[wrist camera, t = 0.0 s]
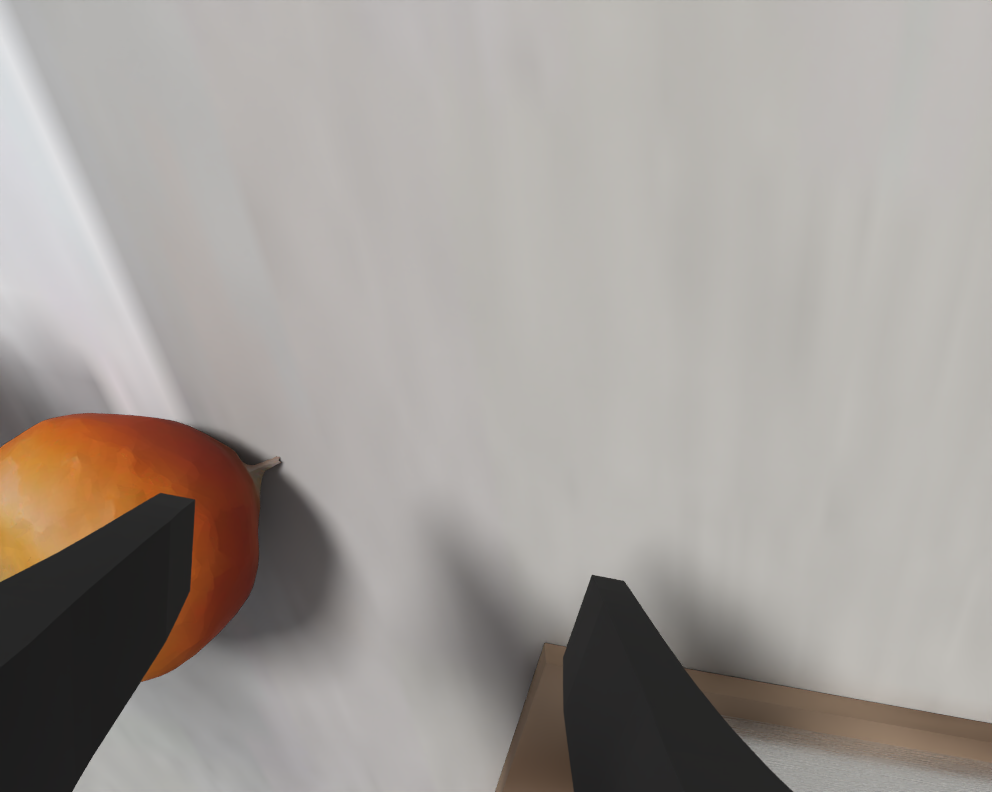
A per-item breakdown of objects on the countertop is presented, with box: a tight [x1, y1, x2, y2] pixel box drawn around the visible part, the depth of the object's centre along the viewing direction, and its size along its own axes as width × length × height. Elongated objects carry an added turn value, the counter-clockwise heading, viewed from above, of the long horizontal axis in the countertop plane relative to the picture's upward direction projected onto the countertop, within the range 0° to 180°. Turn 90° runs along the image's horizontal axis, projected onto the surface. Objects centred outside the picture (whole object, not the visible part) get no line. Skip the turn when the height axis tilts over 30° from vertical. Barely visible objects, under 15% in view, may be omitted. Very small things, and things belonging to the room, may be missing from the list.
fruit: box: [0, 413, 281, 682], centre depth 21 cm, size 8×8×8 cm
